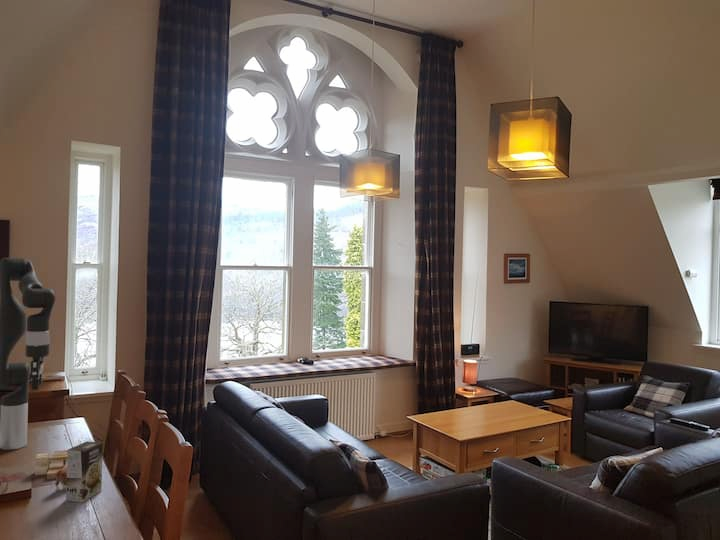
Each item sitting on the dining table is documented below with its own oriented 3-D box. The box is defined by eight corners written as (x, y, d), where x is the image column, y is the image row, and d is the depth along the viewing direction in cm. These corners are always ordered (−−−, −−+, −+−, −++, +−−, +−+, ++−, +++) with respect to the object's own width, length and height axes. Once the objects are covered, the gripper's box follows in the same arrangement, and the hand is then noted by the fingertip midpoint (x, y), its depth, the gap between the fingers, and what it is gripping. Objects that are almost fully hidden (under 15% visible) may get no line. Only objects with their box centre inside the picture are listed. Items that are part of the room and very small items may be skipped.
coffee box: (83, 503, 170) (84, 451, 170) (64, 500, 171) (66, 449, 171) (102, 491, 179) (103, 442, 179) (85, 489, 180) (86, 440, 180)
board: (53, 456, 209) (53, 451, 209) (70, 455, 211) (70, 449, 211) (46, 479, 187) (46, 473, 187) (64, 477, 189) (65, 471, 189)
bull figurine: (93, 479, 189) (94, 455, 189) (60, 494, 176) (61, 468, 176) (83, 477, 190) (84, 453, 190) (50, 491, 177) (50, 466, 177)
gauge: (36, 471, 194) (37, 454, 194) (67, 467, 198) (68, 451, 198) (35, 475, 190) (35, 458, 190) (67, 471, 194) (67, 454, 194)
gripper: (28, 340, 206) (27, 383, 206) (22, 346, 193) (21, 392, 193) (51, 340, 209) (50, 382, 209) (47, 345, 196) (45, 390, 196)
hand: (36, 387), depth 201 cm, fingers open, 8 cm apart
